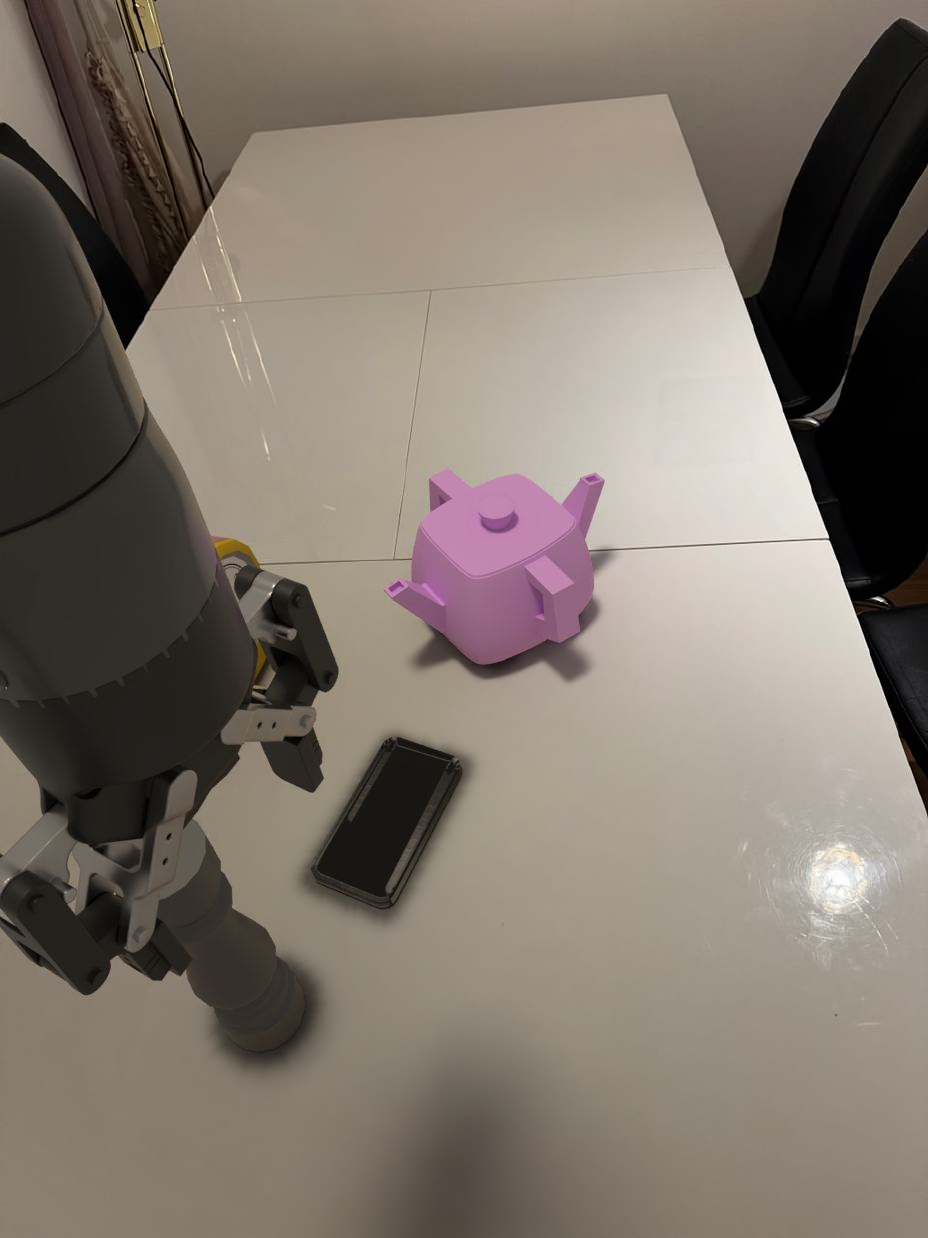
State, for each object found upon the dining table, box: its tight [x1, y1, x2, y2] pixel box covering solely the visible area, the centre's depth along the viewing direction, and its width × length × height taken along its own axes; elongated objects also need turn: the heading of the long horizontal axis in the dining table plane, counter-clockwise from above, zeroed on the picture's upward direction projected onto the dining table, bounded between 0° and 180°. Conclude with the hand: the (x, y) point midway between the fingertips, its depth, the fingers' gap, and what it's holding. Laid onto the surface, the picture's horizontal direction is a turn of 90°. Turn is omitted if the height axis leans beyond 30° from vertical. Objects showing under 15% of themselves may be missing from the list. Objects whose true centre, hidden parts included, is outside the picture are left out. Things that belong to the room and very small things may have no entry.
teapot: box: [382, 467, 606, 665], centre depth 90 cm, size 19×18×15 cm
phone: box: [310, 736, 462, 909], centre depth 80 cm, size 8×1×15 cm
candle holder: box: [114, 818, 306, 1053], centre depth 61 cm, size 6×6×25 cm
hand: (238, 863), depth 36 cm, fingers open, 8 cm apart
